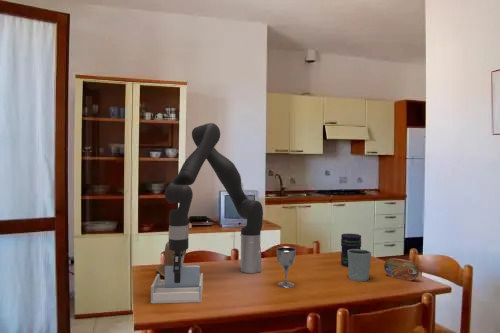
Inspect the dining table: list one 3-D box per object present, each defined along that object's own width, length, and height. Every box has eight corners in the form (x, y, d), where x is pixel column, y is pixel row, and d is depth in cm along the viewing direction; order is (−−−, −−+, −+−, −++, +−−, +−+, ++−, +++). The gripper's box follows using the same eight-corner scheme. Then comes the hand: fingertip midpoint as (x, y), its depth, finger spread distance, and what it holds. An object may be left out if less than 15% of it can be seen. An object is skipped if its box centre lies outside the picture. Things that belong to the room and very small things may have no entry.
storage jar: (363, 264, 197) (364, 234, 197) (357, 268, 189) (358, 237, 189) (344, 261, 202) (344, 232, 202) (337, 265, 194) (338, 235, 194)
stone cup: (189, 277, 173) (189, 243, 173) (162, 280, 168) (162, 246, 168) (180, 269, 187) (180, 237, 186) (155, 271, 182) (155, 239, 181)
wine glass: (297, 283, 166) (297, 247, 166) (293, 288, 158) (293, 251, 158) (279, 281, 168) (279, 246, 168) (274, 286, 161) (274, 250, 161)
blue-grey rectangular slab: (199, 291, 152) (199, 265, 152) (199, 293, 149) (199, 266, 149) (165, 291, 151) (165, 265, 150) (164, 293, 148) (164, 267, 148)
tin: (383, 275, 178) (383, 257, 178) (386, 274, 180) (387, 255, 180) (417, 282, 167) (417, 263, 167) (420, 281, 170) (420, 261, 170)
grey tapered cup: (343, 278, 173) (343, 251, 173) (354, 273, 180) (354, 247, 180) (364, 283, 166) (364, 255, 166) (375, 278, 173) (375, 251, 173)
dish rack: (202, 287, 159) (202, 273, 159) (201, 302, 142) (201, 285, 142) (157, 288, 157) (157, 273, 157) (150, 303, 141) (150, 286, 141)
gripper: (187, 240, 143) (186, 285, 143) (189, 233, 157) (189, 274, 157) (166, 240, 142) (166, 285, 142) (170, 233, 156) (170, 274, 156)
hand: (178, 279), depth 150 cm, fingers open, 7 cm apart
